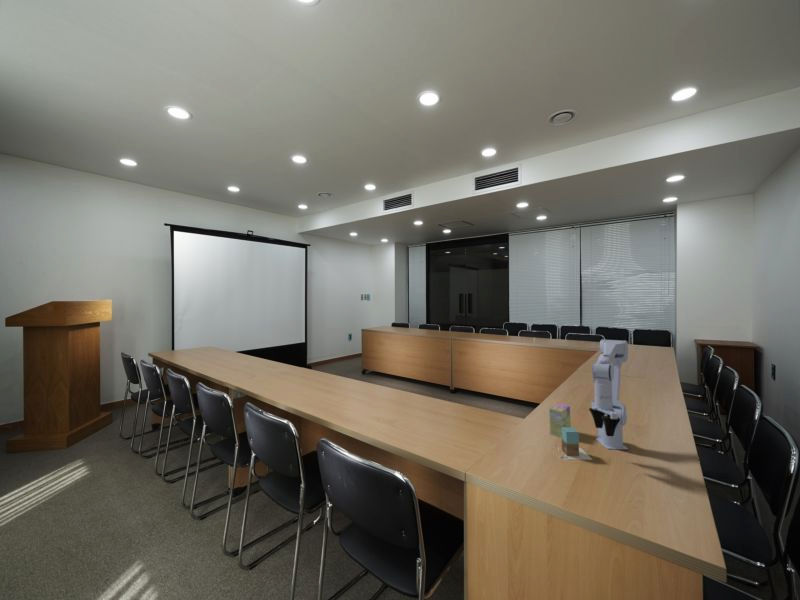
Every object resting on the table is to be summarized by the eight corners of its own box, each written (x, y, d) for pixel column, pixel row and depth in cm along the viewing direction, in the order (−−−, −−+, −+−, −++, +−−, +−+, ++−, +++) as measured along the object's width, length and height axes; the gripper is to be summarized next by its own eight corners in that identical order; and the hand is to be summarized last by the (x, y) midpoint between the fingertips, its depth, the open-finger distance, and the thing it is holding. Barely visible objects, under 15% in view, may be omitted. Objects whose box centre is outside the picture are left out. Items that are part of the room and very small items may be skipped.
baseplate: (549, 447, 132) (549, 446, 132) (580, 448, 131) (580, 447, 131) (559, 459, 122) (559, 458, 122) (592, 460, 121) (592, 459, 121)
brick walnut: (561, 450, 129) (561, 438, 129) (573, 450, 129) (573, 438, 129) (566, 455, 125) (566, 443, 125) (579, 456, 124) (578, 444, 124)
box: (558, 428, 152) (557, 403, 152) (571, 431, 148) (570, 405, 148) (549, 435, 145) (548, 408, 145) (562, 438, 141) (562, 411, 141)
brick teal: (561, 438, 129) (561, 427, 129) (573, 438, 129) (573, 427, 129) (566, 443, 125) (566, 431, 125) (579, 444, 124) (578, 432, 124)
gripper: (583, 390, 129) (584, 424, 129) (602, 401, 115) (603, 439, 115) (601, 390, 129) (602, 424, 129) (623, 401, 114) (624, 439, 114)
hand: (604, 431), depth 122 cm, fingers open, 7 cm apart
